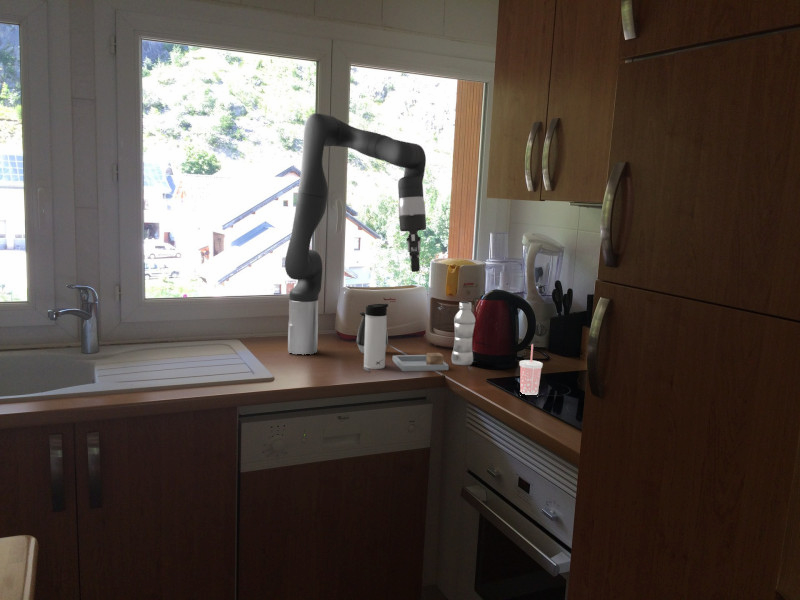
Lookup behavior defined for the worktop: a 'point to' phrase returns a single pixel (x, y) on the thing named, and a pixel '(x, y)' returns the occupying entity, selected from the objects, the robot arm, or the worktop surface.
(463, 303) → the plastic bottle
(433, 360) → the walnut block
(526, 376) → the beverage cup
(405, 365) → the tray
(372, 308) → the travel mug
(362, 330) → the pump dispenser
